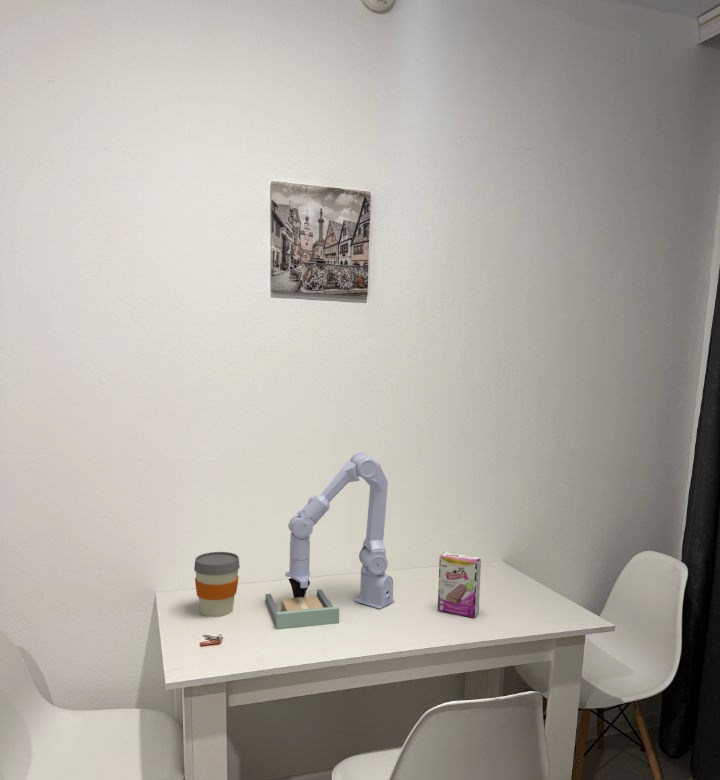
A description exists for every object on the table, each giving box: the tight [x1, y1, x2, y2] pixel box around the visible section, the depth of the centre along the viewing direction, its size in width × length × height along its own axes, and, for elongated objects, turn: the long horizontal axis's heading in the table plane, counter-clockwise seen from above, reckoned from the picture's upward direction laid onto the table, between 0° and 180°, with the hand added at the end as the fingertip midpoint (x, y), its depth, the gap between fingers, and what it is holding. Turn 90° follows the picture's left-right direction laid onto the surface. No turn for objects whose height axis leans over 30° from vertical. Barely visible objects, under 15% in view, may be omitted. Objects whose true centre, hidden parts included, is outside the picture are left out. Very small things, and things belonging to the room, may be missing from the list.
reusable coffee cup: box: [193, 551, 240, 618], centre depth 180 cm, size 12×12×15 cm
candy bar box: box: [437, 551, 482, 619], centre depth 183 cm, size 11×5×16 cm, turn 65°
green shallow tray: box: [265, 589, 340, 630], centre depth 181 cm, size 20×17×4 cm
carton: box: [281, 595, 324, 612], centre depth 178 cm, size 9×10×4 cm
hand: (298, 604), depth 184 cm, fingers closed
